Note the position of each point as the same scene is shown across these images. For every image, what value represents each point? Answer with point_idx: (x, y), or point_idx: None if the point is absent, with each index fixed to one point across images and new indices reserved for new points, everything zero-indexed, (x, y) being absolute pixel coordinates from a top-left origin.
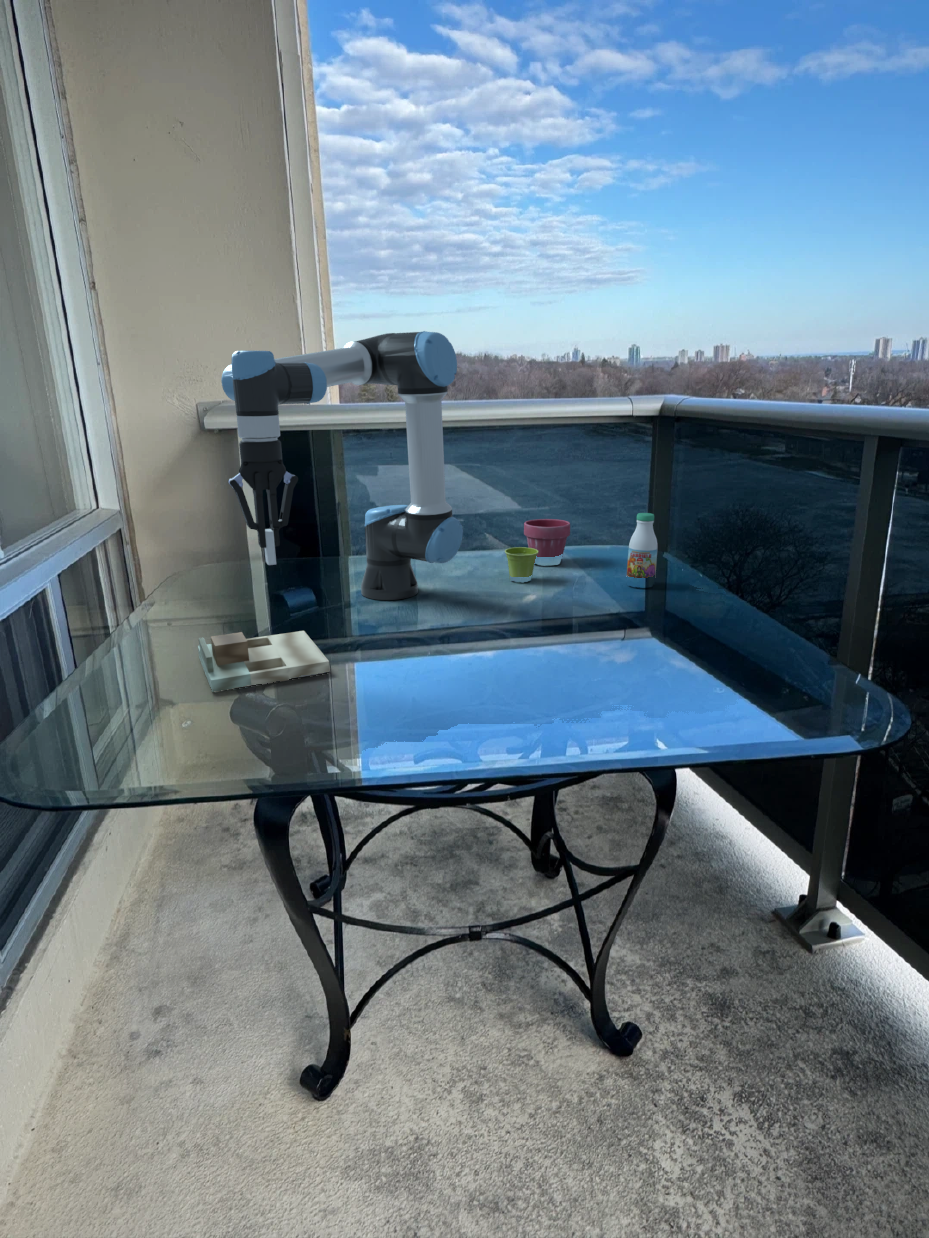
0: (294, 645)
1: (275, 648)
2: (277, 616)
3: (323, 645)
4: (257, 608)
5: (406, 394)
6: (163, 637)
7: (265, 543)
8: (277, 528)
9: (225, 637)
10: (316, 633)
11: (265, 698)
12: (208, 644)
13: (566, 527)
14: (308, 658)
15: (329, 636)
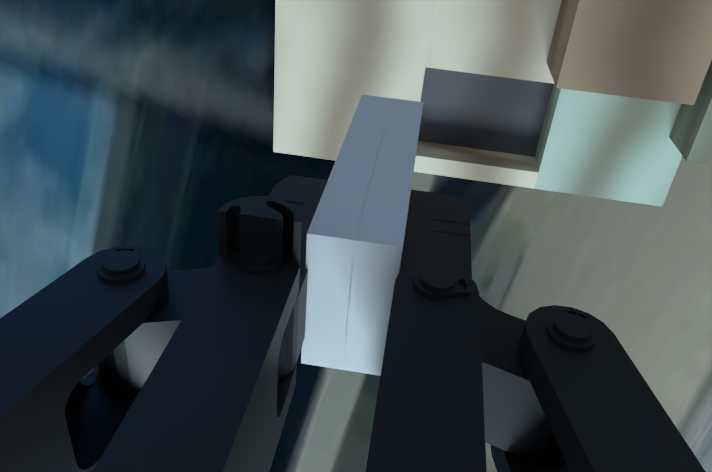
0: (353, 10)
1: (430, 18)
2: (297, 378)
3: (234, 61)
4: (329, 456)
5: None
6: (655, 395)
7: (412, 211)
8: (251, 212)
9: (649, 53)
10: (226, 186)
11: None
12: (624, 198)
13: None
14: None
15: (193, 136)
